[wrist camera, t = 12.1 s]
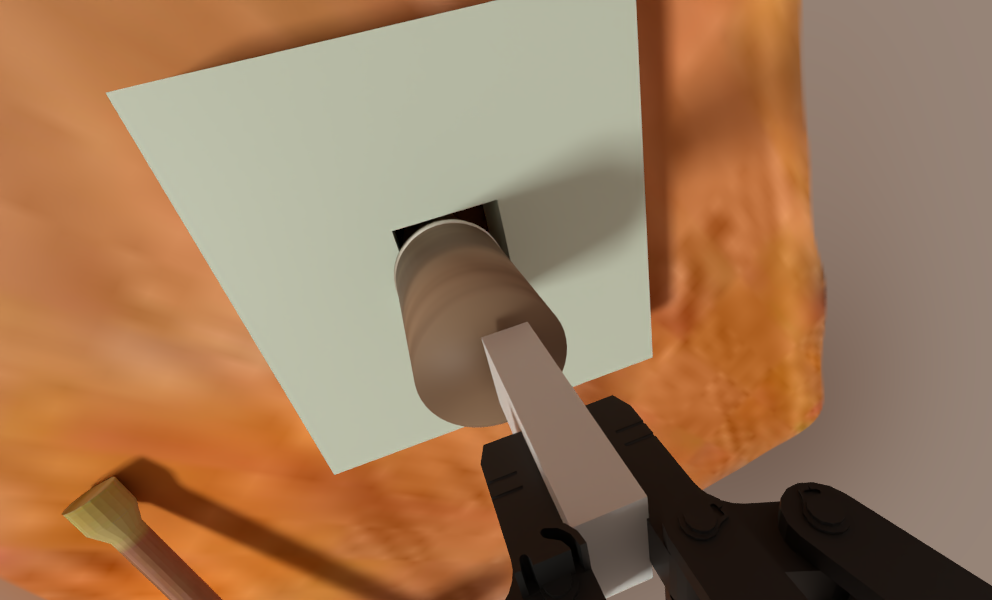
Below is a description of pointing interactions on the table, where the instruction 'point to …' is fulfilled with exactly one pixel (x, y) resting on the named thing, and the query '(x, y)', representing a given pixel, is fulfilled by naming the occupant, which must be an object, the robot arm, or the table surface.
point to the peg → (463, 316)
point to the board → (411, 192)
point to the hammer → (135, 540)
